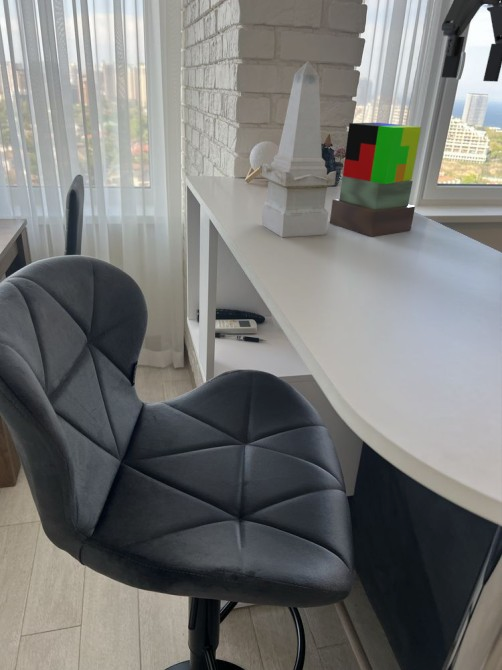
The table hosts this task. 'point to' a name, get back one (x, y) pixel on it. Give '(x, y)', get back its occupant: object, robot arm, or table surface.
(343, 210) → the block stack
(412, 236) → the table surface
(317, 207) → the miniature monument
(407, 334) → the table surface
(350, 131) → the puzzle toy
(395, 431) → the table surface
